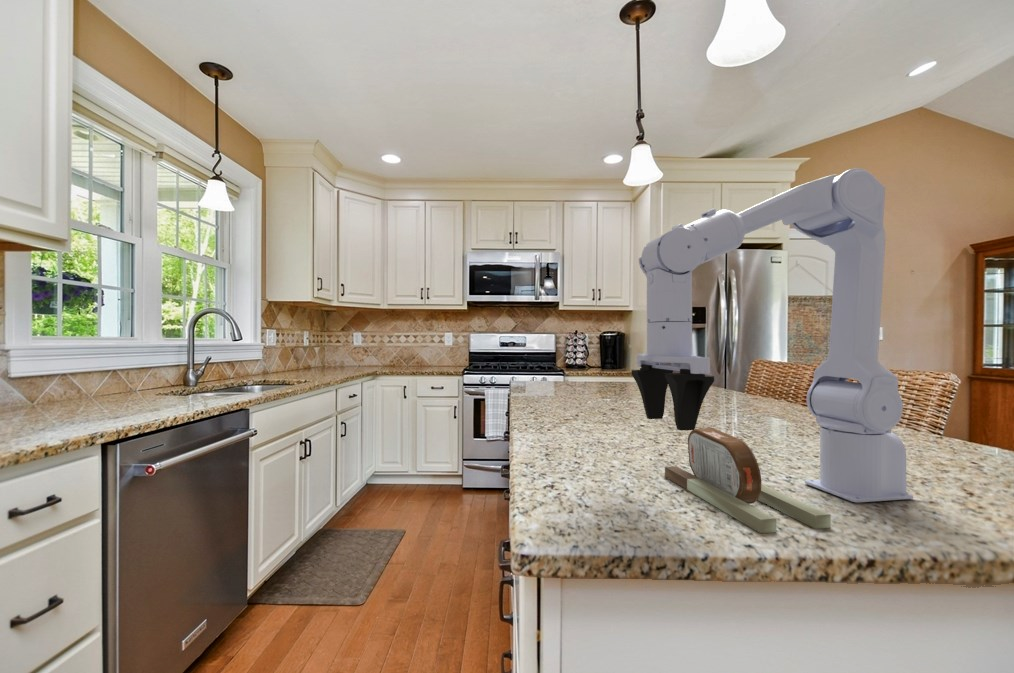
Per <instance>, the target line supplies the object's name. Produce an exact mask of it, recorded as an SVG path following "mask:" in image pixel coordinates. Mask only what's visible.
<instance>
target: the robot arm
mask: <svg viewBox="0 0 1014 673" xmlns="http://www.w3.org/2000/svg"><path fill="white" fill-rule="evenodd" d="M885 196H886V187H885V186H884V185H883V184H882V183H881V182H880V181H879V180H878V179H877V178H876V177H875V175H873V174H872V173H871V172H870V171H868V170H866V169H864V168H861V167H859V168H857V167H856V168H851V169H848V170H845V171H844V172H842V173H841V174H839V175H838V174H837V173H835V174H830V175H828V176H823V177H821V178H818V179H815V180H812V181H809V182H806V183H803V184H800V185H797V186H795V187H793V188H790V189H788V190H786V191H783V192H781V193H779V194H777V195H775V196H773V197H770V198H769V199H766V200H763V201H762V202H760V203H757V204H755V205H753V206H751V207H749V208H746V209H745V210H743V211H740V212H738V213H736V212H734V211H732V210H729V209H720V210H718V211H716V208H711V209H709V210H707V211H705V212H703V213H701V214H700V215H701V218H699V219H697V220H694V221H692V222H690V223H687V224H685V225H683V223H679V224H676V225H674V226H672V228H671V230H669V231H667V232H665V233H663V234H661V235H660V236H658V237H656V238H653V239H652V240H650V241H649V242H647V243H646V246H644V247H643V249H642V252H641V257H639V258H638V264H639V268H640V270H641V271H642V273H643V274H644V275H645V277H646V353H637V354H636V366H637V367H639V369H631V376H632V377H633V379H634V381H635V383H636V385H637V387H638V390H639V392H640V396H641V400H642V404H643V407H644V412H645V415H646V416H645V417H646V419H648V420H662V419H663V418H664V416H665V406H666V397H667V396H666V393H667V390H668V388H669V391H670V394H671V398H672V399H671V400H672V403H673V414H674V423H675V427H676V430H678V431H682V432H683V431H692V430H695V429H696V426H697V423H698V418H699V414H700V411H701V408H702V406H703V405H702V404H703V402H704V400H705V398H706V396H707V394H708V392H709V390H710V388H711V387H712V386H713V384H714V382H715V376H714V375H712V374H711V375H709V374H710V373H711V358H710V357H704V356H699V355H693V271H694V270H696V269H697V268H698V267H699V266H700V265H702V264H705V263H708V262H710V261H712V260H714V259H716V258H719V257H720V256H723V255H726V254H727V253H731V252H732V251H735V250H736V249H738V248H739V247H741V245H742V244H743V241H744V240H745V235H747V234H749V233H750V234H751V232H754V231H758V230H759V229H761V228H763V227H764V228H765V227H767V226H769V225H771V224H773V223H774V224H775V223H776V222H779V221H782V224H783V225H784V226H791V227H792V228H793V229H795V230H796V231H798V232H799V233H801V234H803V235H805V236H806V237H809V238H810V239H812V240H814V241H816V242H818V243H820V244H822V245H824V246H827V247H829V248H830V249H831V250H833V252H834V253H835V254H834V255H835V256H834V268H833V284H832V285H833V286H832V301H831V316H830V329H829V330H830V331H829V344H828V345H829V346H828V347H829V348H828V358H827V359H826V360H825V361H824V362H823V363H821V364H820V365H818V366H817V367H816V368H815V370H814V371H813V379H812V383H811V385H810V387H809V388H808V390H807V393H806V400H805V401H806V406H807V409H808V411H809V412H810V413H811V415H813V417H815V420H816V421H815V423H816V424H818V425H820V426H819V475H820V476H819V478H818V479H805V480H804V483H805V485H808V486H811V487H813V488H816V489H819V490H821V491H823V492H826V493H828V494H830V495H831V494H832V495H834V496H836V497H839V498H842V499H844V500H847V501H848V502H849V501H850V502H852V503H857V504H858V503H868V502H869V503H870V502H882V501H883V502H884V501H897V500H913V499H914V495H913V494H910V493H907V451H906V447H905V445H904V443H903V442H904V441H902V439H901V438H900V437H899V436H898V435H897V434H896V433H894V432H893V431H892V429H894V428H895V427H896V426H897V425H898V424H899V423H900V420H901V418H902V416H903V409H904V407H903V401H902V398H901V395H900V392H899V377H898V376H897V375H896V374H895V373H894V372H893V371H891V370H889V369H888V368H886V367H885V365H883V364H881V363H880V361H879V350H880V349H879V348H880V331H881V316H882V315H881V314H882V301H883V300H882V298H883V283H884V268H885V251H886V231H885V226H884V214H885V198H886V197H885ZM666 364H671V365H666ZM674 371H675V372H674ZM848 379H854V380H857V382H856V381H847V380H848Z"/></svg>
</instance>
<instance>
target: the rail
mask: <svg viewBox="0 0 1014 673" xmlns="http://www.w3.org/2000/svg"><path fill="white" fill-rule="evenodd" d="M664 477H665V478H667V479H668V480H671V481H672V482H673V483H675V484H677V485H678V486H681V487H682V488H684V489H685V490H687V491H689V492H690V493H692V494H694V495H695V496H697V497H698V498H701V499H702V500H704V502H707V503H709V504H710V505H712V506H714V507H716V508H717V509H719V510H721V511H722V512H723V513H725V514H727V515H729V516H731V517H732V518H734V519H736V520H738V521H739V522H741V523H743V524H744V525H746V526H748V527H749V528H751V529H753V530H755V531H756V532H758V533H759V534H767V533H768V534H769V533H770V534H771V533H777V518H776V517H774V516H773V515H771V514H769V513H767V512H765V511H763V510H761V509H759V508H758V507H755V506H753V505H752V504H748V503H746V502H744V501H742V500H740V499H738V498H736V497H735V496H733V495H731V494H729V493H727V492H725V491H723V490H721V489H719V488H717V487H715V486H713V485H712V484H710V483H708V482H706V481H704V480H702V479H700V478H698V477H696V476H695V475H694V474H693V473H690V472H689V471H688V470H684V469H683V468H682V467H681V468H680V467H679V466H677V465H676V466H674V465H673V466H664ZM757 501H758V502H761V503H763V504H764V505H766V504H767V506H769V507H770V506H771V508H772V507H773V508H772V509H775V510H776V509H777V511H778V510H779V511H778V512H780V511H781V513H782V514H785V515H786V516H788V517H791V518H793V519H794V520H797V521H799V522H801V523H803V524H805V525H807V526H809V527H811V528H813V529H814V530H817V529H830V528H831V526H832V525H831V523H832V522H831V520H832V519H831V515H832V514H830V513H829V512H826V511H824V510H821V509H819V508H817V507H815V506H812V505H810V504H808V503H805V502H803V501H801V500H799V499H796V498H795V497H792V496H790V495H787V494H785V493H783V492H781V491H778V490H776V489H774V488H771V487H769V486H767V485H765V484H763V483H761V493H760V496H759V498H758V500H757Z"/></svg>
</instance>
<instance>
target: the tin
mask: <svg viewBox="0 0 1014 673" xmlns="http://www.w3.org/2000/svg"><path fill="white" fill-rule="evenodd" d="M687 452H688V461H689V462H688V463H689V466H690V469H691V472H692V475H694V476H696V477H698V478H700V479H702V480H704V481H706V482H708V483H710V484H712V485H713V486H715V487H717V488H719V489H721V490H723V491H725V492H727V493H729V494H731V495H733V496H735V497H736V498H738V499H740V500H742V501H744V502H746V503H748V504H750V505H752V504H754V503H756V502H757V501H758V498H759V496H760V493H761V484H762V474H761V469H760V466H759V464H758V463H759V462H758V461H757V458H756V456H755V454H754V452H753V451H752V449H751V448H750V446H749V445H748V444H747V443H746V442H745V441H744V440H742V439H740V438H738V437H735V436H733V435H731V434H729V433H726V432H723V431H722V430H718V429H717V428H715V427H711V426H709V427H703V428H695V429H694V430H690V432H689V434H688V437H687Z"/></svg>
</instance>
